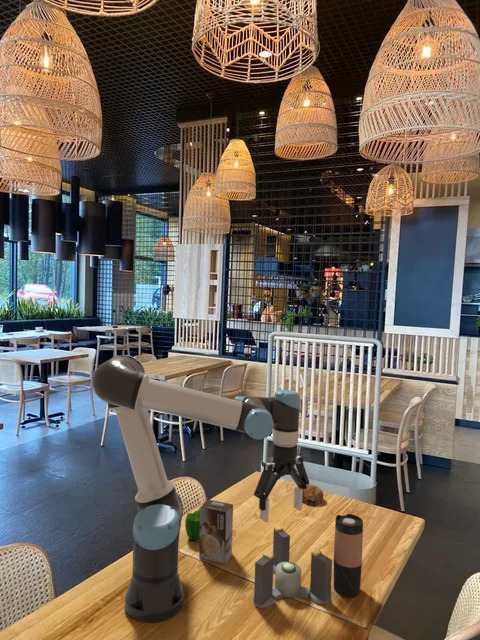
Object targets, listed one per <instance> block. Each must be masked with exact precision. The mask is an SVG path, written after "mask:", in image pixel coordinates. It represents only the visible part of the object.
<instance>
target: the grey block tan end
mask: <svg viewBox="0 0 480 640" xmlns="http://www.w3.org/2000/svg"><path fill="white" fill-rule="evenodd" d="M272 538H273V540H272V541H273V542H272V543H273V544H272V545H273V546H272V554H273V555H274V562H273V574H275V575H276V566H277V565H278V564H279V563H281V562H290V549H291V548H290V547H291V535H290V534H289V533H287V532H286V530H284V527H283V526H282V525H279V526H278V525H277V526H274V527H273V537H272Z"/></svg>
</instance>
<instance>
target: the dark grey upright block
mask: <svg viewBox="0 0 480 640" xmlns="http://www.w3.org/2000/svg"><path fill="white" fill-rule="evenodd" d="M273 562H274V555H273V553H271V552H268V551H265V552H264V553H263V554H262V556H261V557H260V558H259V559H258V560H256V561H255V563H254V587H253V588H254V589H253V591H254V592H253V598H252V599H253V601H252V602H253V605H254V606H256V608H259V609H269V608H271V607H272V605H273V603H274V599H273V597H272V592H273V589H274V587H273V585H274V573H273Z"/></svg>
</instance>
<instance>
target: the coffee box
mask: <svg viewBox="0 0 480 640" xmlns="http://www.w3.org/2000/svg"><path fill="white" fill-rule="evenodd" d="M199 508H200V541H198V543H199V550H198V551H199V552H198V553H199V554H198V556H199V557H198V558H199V559H203V560H206V561H212V562H217V563H221V564H224V565H225V564H227V563H228V561H229V560H230V558H231V557H232V555H233V525H234V524H233V520H234V519H233V517H234V516H233V515H234V512H233V511H234V504H232V503H228V502H223V501H217V500H212V499H207V500H205V501H204V502H203V504H202V505H201V506H199Z"/></svg>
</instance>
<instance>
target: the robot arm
mask: <svg viewBox="0 0 480 640" xmlns="http://www.w3.org/2000/svg"><path fill="white" fill-rule="evenodd" d="M91 383H92V388H93V390H94V393H95V395H96V396H97V397H98V398H99V399H100V400H101V401H103V402H104V403H107V406H108V407H107V408H108V409H109V410H111V411H112V412H114V413H116V418H117V421H118V424H119V428H120V431H121V435H122V439H123V443H124V445H125V448H126V449H125V450H126V453H127V456H128V459H129V462H130V466H131V469H132V473H133V476H134V480H135V484H136V487H137V490H138V491H137V493H136V494H135V498H134V500H135V503H136V507H137V511H138V512H137V514H136V515H135V518H134V520H133V526H132V536H133V537H132V539H133V540H132V573H131V578H130V581H129V583H128V587H127V590H126V592H125V596H124V610H125V612H126V614H127V615H128V616H129V617H130V618H132V619H133V620H136V621H138V622H142V623H158V622H162V621H165V620H168V619H170V618H172V617H174V616H175V615H177V614H178V613H179V611H180V610H181V609H182V607H183V605H184V600H185V599H184V597H185V594H184V593H185V592H184V587H183V584H182V581H181V578H180V575H179V571H178V570H179V542H180V541H179V540H180V534H181V533H180V532H181V526H182V518H183V514H184V505H183V501H182V498H181V495H180V494H179V492H177V490H176V487H175V484H174V482H173V481H170V480H168V478H167V474H166V470H165V467H164V463H163V460H162V458H161V453H160V449H159V446H158V443H157V440H156V436H155V433H154V429H153V425H152V422H151V419H150V415H149V412H148V409H149V410H153V411H157V412H160V413H163V414H169V415H173V416H177V417H182V418H183V419H190V420H193V421H197V422H201V423H205V424H209V425H214V426H217V427H221V428H225V429H230V430H233V431H237V432H240V433H246V434H247V435H248V436H249V437H250V438H252V439H254V440H263V439H264V440H265V439H266V438H268V436H270V435H271V433H272V442H273V443H272V444H271V457H272V462H267V461H265V462H264V463H263V469H262V473H261V475H260V477H259V479H258V482H257V485H256V486H255V491H254V492H253V496H254V497H255V498H257V499H258V500H259V504H258V508H259V510H260V513H259V514H260V515H259V519H260V520H262V521H263V522H265V523H269V514H270V511H269V510H270V499H269V496H270V494H271V492H272V491H273V489H274V487H276V486H275V485H276V484H277V482H278V481H279V480H281V477H285V476H289V475H290V477H291V479H292V480H293V481H294V483H295V485H296V486H294V493H293V495H294V496H293V508H294V509H296V510H298V511H300V512H301V511H302V510H303V502H302V498H303V495H304V489H306V488H307V486H306V485H309V484H310V480H309V477H308V474H307V471H306V468H305V465H304V457H303V456H300V455H298V449H299V448H298V444H299V424H300V411H301V407H300V406H301V404H300V403H301V402H300V399H301V398H300V393H298V392H297V391H295V390H289V389H279V390H275V392H274V395H273V396H271V397H266V396H247V395H244V396H242V395H241V396H236V397H234V399H232V398H228V397H224V396H219V395H218V394H213V393H208V392H205V391H201V390H197V389H193V388H189V387H185V386H181V385H176V384H172V383H170V382H164V381H161V380H157V379H153V378H151V377H149V375H148V373H146V371H145V368H144V366H143V364H142V362H141V361H140V360H139V359H138V358H136V357H134V356H131V355H127V354H122V355H116V356H113V357H111V358H109V360H106V361H105V362H102V363H101V364H100V365H99V366H98V367H97V368H96V369H95V371H94V373H93V375H92V382H91ZM295 467H296V468H295Z"/></svg>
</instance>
